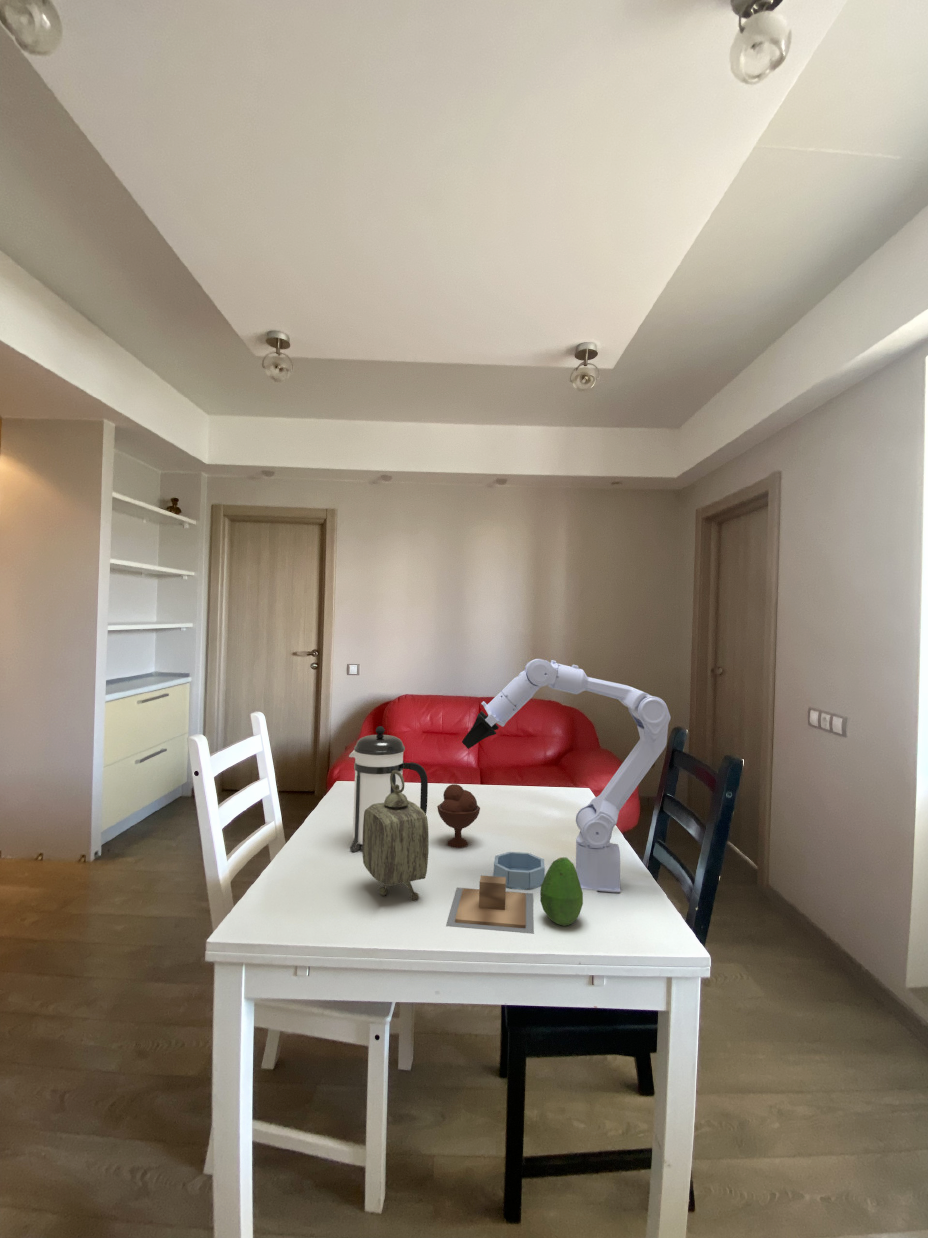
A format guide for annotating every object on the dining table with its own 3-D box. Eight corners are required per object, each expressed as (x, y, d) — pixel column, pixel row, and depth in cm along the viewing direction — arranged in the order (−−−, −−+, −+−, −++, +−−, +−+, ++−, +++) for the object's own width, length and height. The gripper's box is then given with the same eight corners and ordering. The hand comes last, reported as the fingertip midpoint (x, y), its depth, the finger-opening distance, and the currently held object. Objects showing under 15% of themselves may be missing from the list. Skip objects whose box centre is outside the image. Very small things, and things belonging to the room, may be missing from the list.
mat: (532, 895, 117) (532, 893, 117) (533, 935, 101) (533, 933, 101) (456, 889, 119) (456, 887, 119) (445, 928, 103) (445, 926, 103)
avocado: (576, 913, 110) (578, 850, 110) (586, 934, 102) (588, 867, 102) (536, 912, 110) (537, 850, 110) (543, 933, 102) (544, 866, 102)
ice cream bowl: (442, 853, 138) (444, 792, 138) (432, 837, 149) (434, 780, 149) (483, 850, 141) (485, 790, 141) (471, 835, 151) (472, 779, 152)
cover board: (525, 896, 115) (526, 868, 116) (525, 928, 102) (526, 897, 103) (462, 891, 117) (463, 864, 117) (455, 922, 104) (455, 892, 104)
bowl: (543, 871, 129) (543, 854, 129) (544, 893, 118) (545, 873, 118) (495, 868, 130) (495, 850, 130) (492, 889, 119) (493, 870, 119)
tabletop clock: (427, 903, 112) (430, 777, 113) (384, 913, 107) (388, 782, 108) (398, 875, 125) (401, 762, 125) (359, 883, 120) (363, 766, 121)
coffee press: (367, 862, 131) (371, 733, 132) (336, 842, 144) (340, 724, 144) (427, 846, 142) (431, 727, 143) (393, 829, 155) (397, 719, 156)
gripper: (498, 686, 133) (457, 726, 133) (496, 688, 119) (450, 733, 119) (519, 708, 132) (478, 748, 132) (519, 713, 118) (473, 758, 118)
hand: (466, 743), depth 125 cm, fingers open, 7 cm apart
